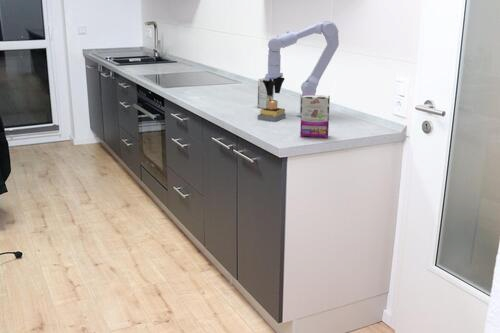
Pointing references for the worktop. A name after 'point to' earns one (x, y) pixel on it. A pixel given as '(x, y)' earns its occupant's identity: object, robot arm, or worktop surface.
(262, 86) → the syrup box
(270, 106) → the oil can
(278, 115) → the square open tray
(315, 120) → the candy bar box
